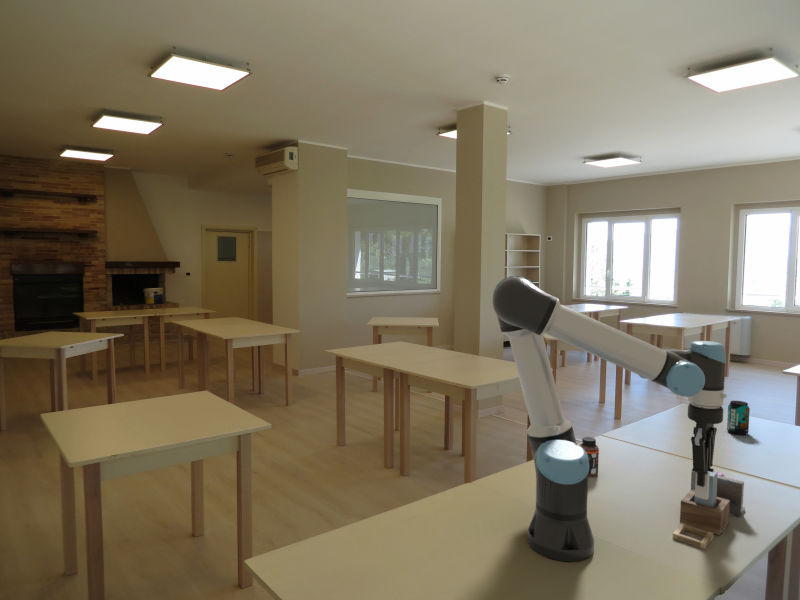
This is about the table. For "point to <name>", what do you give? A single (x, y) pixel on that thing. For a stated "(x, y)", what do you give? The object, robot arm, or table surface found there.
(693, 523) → the brown wooden box
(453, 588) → the table surface
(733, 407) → the beverage can
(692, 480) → the backstop
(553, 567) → the table surface
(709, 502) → the light blue square peg
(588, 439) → the supplement bottle
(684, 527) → the stand
